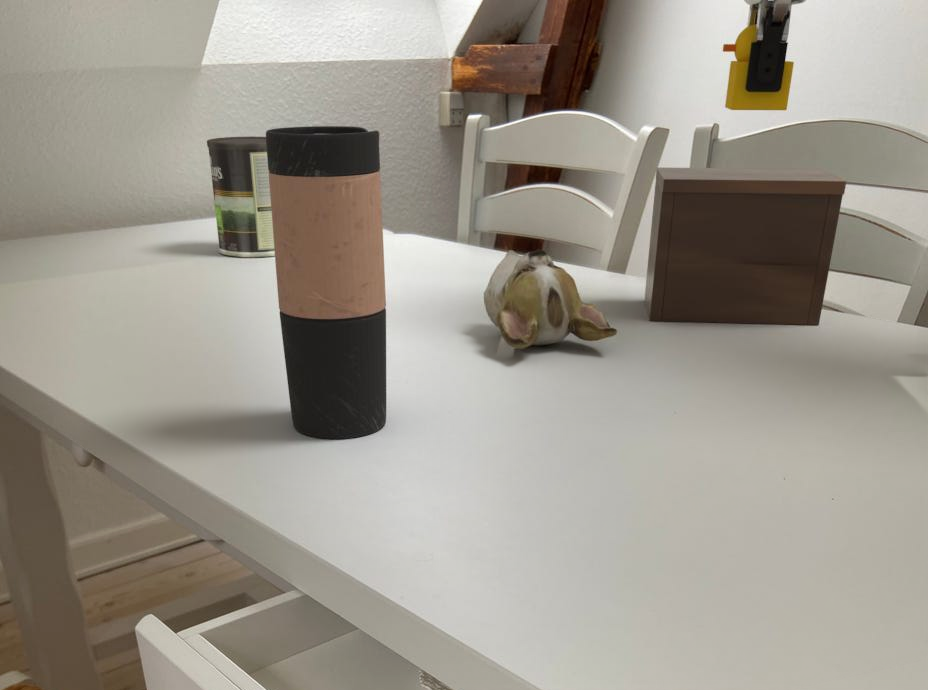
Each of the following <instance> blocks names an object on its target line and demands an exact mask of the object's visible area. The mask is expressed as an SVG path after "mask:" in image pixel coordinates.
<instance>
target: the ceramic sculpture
mask: <svg viewBox="0 0 928 690" xmlns="http://www.w3.org/2000/svg"><path fill="white" fill-rule="evenodd" d="M483 303H484V308H485V311H486V313H487V316H488V318H489V320H490V321H491V322H492V324H493V325H494V326H495V327H497V328H498V329H499V331H500V334H501V336H502V339H503V340H504V341H505V343H506V344H507V345H509V346H510V347H512V348H515V349H520V350H521V349H526V348H528V347H530V346H545V345H552V344H556V343H559V342H560V341H563V340H564V339H565V338H566V337H568V335H569V334H572V335H574V336H575V337H576V338H578V339H580V340H582V341H588V342H593V341H594V342H595V341H597V342H598V341H600V340H602V339H606V338H610V337H614V336H616V335H617V333H618V330H617V329H616V328H614V327H611V326H610V323H609V322H608V321H607V319H606V316H605V315H604V313H603V311H601V310H599V309H598V308H597V307H596V305H595V304H593V303H588V302H582V299H581V297H580V293H579V290H578V287H577V284H576V281H575V279H574V278H573V276H571V275H570V273H568V272H567V271H566V270H565V268H563V267H560V266H557V265H555V263H554V260H553V259H552V257H551V256H549V255H548V254H547V252H546V251H545V250H543V249H536V250H532V251H527V252H526V253H525V254H524V253H523V255H520V254H518V253H516V251H514V250H512V249H510V250H508V251H507V252H506V254H505V256H504V258H502V260H500V262H499V263H497V265H496V267H495V269H494V271H492V274H491V275H490V277H489V281H488V283H487V286H486V288H485V290H484V291H483Z"/></svg>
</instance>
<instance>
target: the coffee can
mask: <svg viewBox="0 0 928 690" xmlns="http://www.w3.org/2000/svg"><path fill="white" fill-rule="evenodd" d="M206 145H207V149H208V155H209V156H208V157H209V165H210V175H211V183H212V193H213V203H214V209H215V219H216V220H215V221H216V227H217V228H216V229H217V237H218V252H219V253H220V254H221V255H222V256H227V257H233V258H234V257H235V258H246V259H247V258H248V259H249V258H251V259H252V258H269V257H275V250H274V237H273V224H272V211H271V198H270V185H269V170H268V159H267V146H266V136H226V137H225V136H224V137H215V138H209V139H208V140H206Z"/></svg>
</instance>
